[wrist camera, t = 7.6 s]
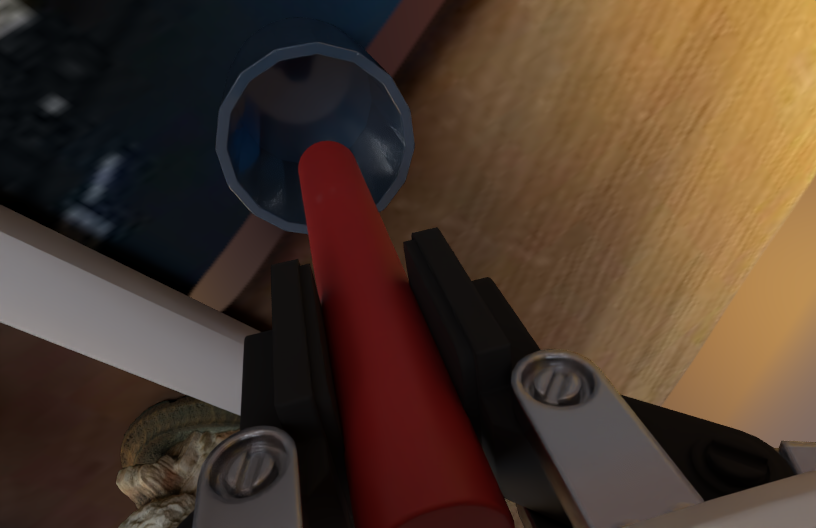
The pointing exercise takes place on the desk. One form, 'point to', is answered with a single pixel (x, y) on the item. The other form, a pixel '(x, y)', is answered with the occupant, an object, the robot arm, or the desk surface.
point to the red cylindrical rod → (388, 368)
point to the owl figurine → (169, 458)
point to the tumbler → (308, 117)
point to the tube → (117, 314)
